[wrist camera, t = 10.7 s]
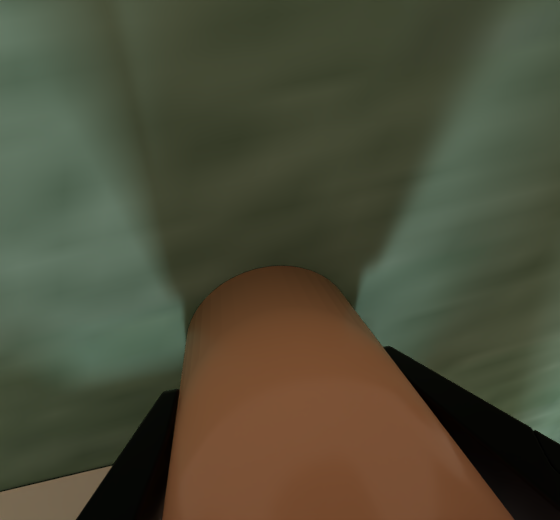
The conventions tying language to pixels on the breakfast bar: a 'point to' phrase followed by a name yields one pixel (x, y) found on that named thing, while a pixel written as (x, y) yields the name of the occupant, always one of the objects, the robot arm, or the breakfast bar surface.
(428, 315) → the breakfast bar surface
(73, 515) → the tray
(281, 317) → the terracotta domed cylinder
